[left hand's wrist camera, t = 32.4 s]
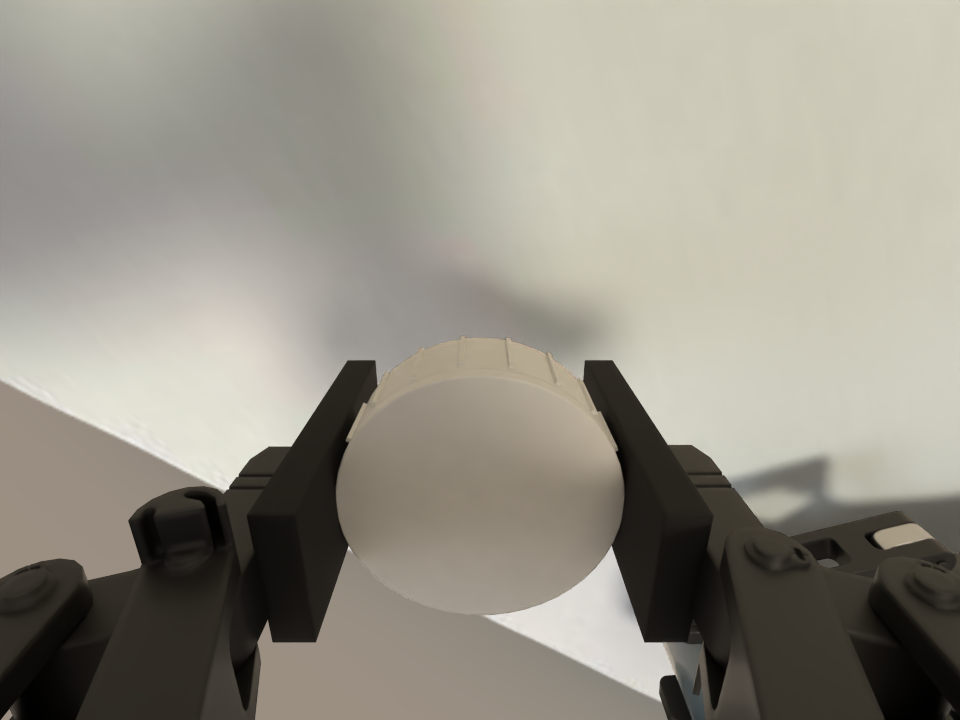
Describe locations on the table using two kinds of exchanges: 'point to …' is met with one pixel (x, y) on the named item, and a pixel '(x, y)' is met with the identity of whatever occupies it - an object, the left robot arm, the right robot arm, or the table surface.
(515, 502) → the lid
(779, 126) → the table surface
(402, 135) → the table surface
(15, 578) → the left robot arm
